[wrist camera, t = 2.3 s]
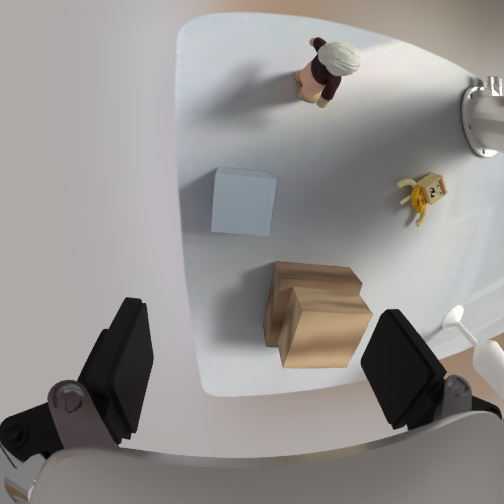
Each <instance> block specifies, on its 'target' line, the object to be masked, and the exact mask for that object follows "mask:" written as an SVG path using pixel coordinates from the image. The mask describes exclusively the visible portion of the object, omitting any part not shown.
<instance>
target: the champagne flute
mask: <svg viewBox="0 0 504 504" xmlns="http://www.w3.org/2000/svg"><path fill="white" fill-rule="evenodd" d="M462 314H463V307H462V306H460V305H459V306H456V307H454V308H453V309H451V310H450V311H449V312H448V314H447V315H446V316H445V318H444V320H443V322H442V329H443V330H444V331H447V330H450V329H452V328H453V327H455V326H457V327H458V329H459V330H460V331H461V332H462V333H463V334H464V335H465V336H466V338H467V339H468V340H469V341H470V342H471V343H472V344H473V346H474V347H475V349H474V355H473V367H474V369H475V370H476V371H477V372H478V373H479V374H480V375H481V376H482V377H483V378H484V380H485V381H486V382H487V383H488V384H489V385H490V386H491V387H492V388H493V389H494V390H495V392H496V393H497V394H498V395H499V396H500V397H501V398H502V399H503V401H504V352H503V350H502V349H501V348H500V346H499V345H498V343H497V342H495V341H484V342H480V343H478V341H477V340H476V339H475V338H474V337H473V336H472V335H471V334H470V332H469V331H468V330H467V329H466V328H465V327H464V326H463V325H462V324H461V323H460V320H461V317H462Z"/></svg>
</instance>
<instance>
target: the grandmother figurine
mask: <svg viewBox="0 0 504 504" xmlns="http://www.w3.org/2000/svg"><path fill="white" fill-rule="evenodd" d="M310 45H311V46H313V47H314V48H315V50H316V52H317V55H316V56H315V58H314V59H313V60H312V61H311V62H309V63H308V64H307V65H306V67H305V68H304V69H302V70H298V71H296V72H295V73H294V77H295V80H296V81H297V82H300V83H302V85H303V86H302V87H300V88H299V89H298V96H299V97H300V98H301V99H304V100H306V101H309V102H313V103H314V102H317V105H318V106H319V107H321V108H324V107H326V105H327V103H329V101H330V100H332V98H333V96H334V94H335V92H336V90H337V88H338V86H339V84H340V82H341V76H346V75H351V74H352V73H353V72H356V71H357V70H358V67H359V66H360V52H359V51H358V50H357V49H356V48H355V47H354V46H352V45H350V44H347V43H345V42H338V41H337V42H332V43H328V42H326V41H324V40H323V39H322V38H319V37H317V38H312V39H310ZM322 90H323V91H322ZM321 91H322V93H321V96H320V92H321Z"/></svg>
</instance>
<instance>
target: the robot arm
mask: <svg viewBox="0 0 504 504" xmlns="http://www.w3.org/2000/svg"><path fill="white" fill-rule="evenodd" d="M493 86H494V89H493ZM462 122H463V127H464V131H465V134H466V137H467V140H468V142H469V144H470V146H471V147H472V149H473V150H474V151H475V152H476V153H477V154H478V155H480V156H483V157H487V158H490V157H493V156H494V155H495V154H496V153H497V152H502V153H504V95H503V94H502V79H500V78H499V77H496V76H494V77H493V78H492V77H490V76H487V88H486V89H485V88H483V87H480V86H473V87H470V88H469V89H468V90H467V91H466V93H465V95H464V97H463V102H462ZM152 365H153V349H152V343H151V336H150V329H149V322H148V314H147V306H146V303H142V301H141V299H137V298H129V297H126V298H125V300H124V301H123V303H122V305H121V307H120V309H119V311H118V312H117V314H116V316H115V318H114V320H113V322H112V324H111V326H110V327H109V329H104V330H102V332H101V333H100V335H99V337H98V339H97V341H96V343H95V345H94V347H93V349H92V351H91V353H90V355H89V357H88V359H87V361H86V363H85V365H84V367H83V369H82V371H81V374H80V376H79V378H78V380H77V381H74V380H64V381H60V382H58V383H56V384H55V385H54V386H53V387H52V388H51V389H50V391H49V393H48V398H47V400H48V402H47V403H45V404H42V405H39V406H37V407H34V408H31V409H29V410H26V411H24V412H21V413H18V414H16V415H13V416H10V417H8V418H6V419H5V420H4V421H3V422H2V423H1V425H0V504H504V418H503V419H502V415H501V412H500V409H499V408H498V407H497V406H495V405H493V404H491V403H489V402H486V401H484V400H482V399H479V398H477V397H474V396H472V391H471V387H470V385H469V383H468V382H467V381H466V380H465V379H464V378H463V377H461V376H458V375H450V376H448V377H447V378H446V380H444V378H443V377H444V376H445V374H446V373H447V371H446V370H445V368H444V367H443V366H442V364H441V363H440V362H439V360H438V359H437V357H436V356H435V355H434V353H433V352H432V351H431V349H430V348H429V347H428V345H427V344H426V343H425V341H424V340H423V339H422V338H421V336H420V335H419V334H418V332H417V331H416V330H415V329H414V327H413V326H412V325H411V323H410V322H409V321H408V320H407V319H406V317H405V316H404V315H403V314H402V312H401V311H400V310H399V309H387V310H385V311H384V313H382V314H381V316H380V318H379V321H378V323H377V325H376V328H375V330H374V332H373V334H372V337H371V339H370V341H369V343H368V345H367V347H366V350H365V352H364V354H363V356H362V358H361V367H362V369H363V371H364V373H365V375H366V377H367V379H368V381H369V383H370V385H371V387H372V389H373V391H374V393H375V395H376V397H377V400H378V402H379V404H380V406H381V408H382V410H383V413H384V415H385V417H386V419H387V421H388V423H389V424H391V425H392V427H393V429H394V430H395V429H398V428H401V427H404V426H405V425H407V427H408V428H407V431H406V432H404V433H401V434H397V435H394V436H391V437H387V438H384V439H380V440H376V441H372V442H368V443H364V444H360V445H355V446H350V447H346V448H341V449H335V450H329V451H323V452H316V453H309V454H301V455H291V456H278V457H263V458H262V457H261V458H216V457H197V456H184V455H174V454H166V453H158V452H151V451H143V450H136V449H129V448H120V447H119V446H118V444H120V443H121V441H122V438H124V439H129V440H130V438H131V433H136V431H137V428H138V423H139V419H140V414H141V410H142V405H143V401H144V397H145V392H146V389H147V385H148V380H149V377H150V373H151V369H152ZM35 479H36V481H35V482H34V480H35ZM33 485H34V487H33V490H32V494H31V497H30V502H29V501H28V497H27V496H28V491H29V489H30V488H31V487H32V486H33Z"/></svg>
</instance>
